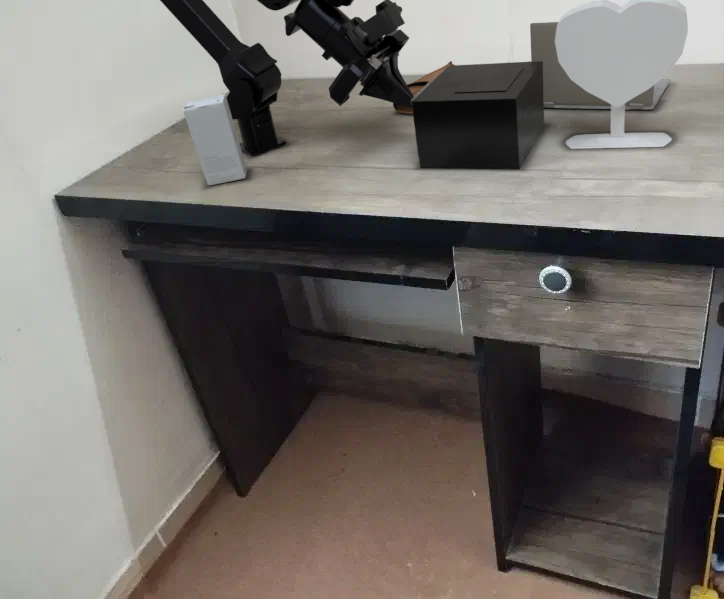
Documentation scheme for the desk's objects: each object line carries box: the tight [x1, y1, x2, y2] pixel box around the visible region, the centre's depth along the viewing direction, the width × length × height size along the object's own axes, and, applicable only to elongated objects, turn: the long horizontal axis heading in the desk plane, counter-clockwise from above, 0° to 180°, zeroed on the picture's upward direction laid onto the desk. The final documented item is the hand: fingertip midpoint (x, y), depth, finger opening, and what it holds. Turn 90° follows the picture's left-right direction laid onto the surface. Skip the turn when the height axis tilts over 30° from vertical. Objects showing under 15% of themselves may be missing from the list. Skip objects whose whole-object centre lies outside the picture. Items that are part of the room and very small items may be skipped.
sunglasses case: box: [392, 61, 455, 116], centre depth 126 cm, size 18×7×7 cm
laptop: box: [529, 21, 671, 111], centre depth 110 cm, size 18×12×13 cm
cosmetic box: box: [182, 94, 248, 186], centre depth 107 cm, size 6×4×12 cm
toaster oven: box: [411, 61, 545, 170], centre depth 102 cm, size 15×16×10 cm
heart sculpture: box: [555, 0, 689, 150], centre depth 93 cm, size 16×5×18 cm, turn 70°
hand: (414, 105), depth 105 cm, fingers closed
